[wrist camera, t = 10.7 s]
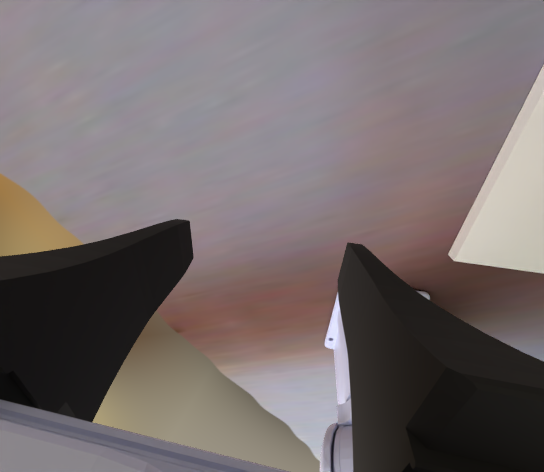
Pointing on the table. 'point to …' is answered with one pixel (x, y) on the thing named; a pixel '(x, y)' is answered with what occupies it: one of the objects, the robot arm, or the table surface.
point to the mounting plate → (511, 198)
